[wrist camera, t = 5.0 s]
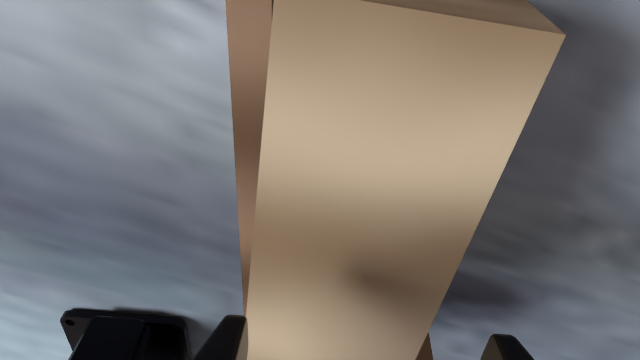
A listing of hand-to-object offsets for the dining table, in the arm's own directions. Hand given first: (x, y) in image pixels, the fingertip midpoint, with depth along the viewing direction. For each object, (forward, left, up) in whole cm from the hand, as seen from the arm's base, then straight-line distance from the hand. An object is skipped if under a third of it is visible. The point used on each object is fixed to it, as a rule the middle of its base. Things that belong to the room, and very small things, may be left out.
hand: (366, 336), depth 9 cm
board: (0, 0, -6) cm, 6 cm away
